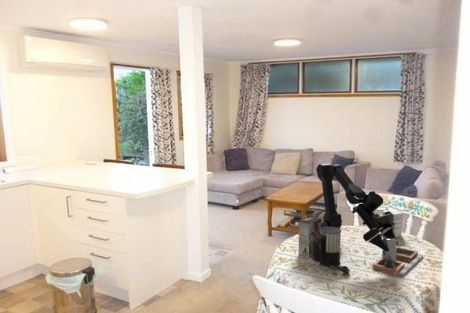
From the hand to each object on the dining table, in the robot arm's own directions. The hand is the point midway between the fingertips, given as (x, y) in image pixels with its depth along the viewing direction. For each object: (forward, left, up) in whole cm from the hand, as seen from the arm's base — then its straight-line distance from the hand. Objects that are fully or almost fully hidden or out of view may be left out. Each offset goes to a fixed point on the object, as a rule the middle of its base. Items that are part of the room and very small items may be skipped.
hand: (393, 248), depth 149 cm
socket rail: (+6, +6, -9) cm, 12 cm away
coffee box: (-28, +21, -9) cm, 36 cm away
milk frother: (-22, +6, -9) cm, 25 cm away
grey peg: (-1, +1, -9) cm, 9 cm away
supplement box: (+22, +39, -9) cm, 46 cm away
